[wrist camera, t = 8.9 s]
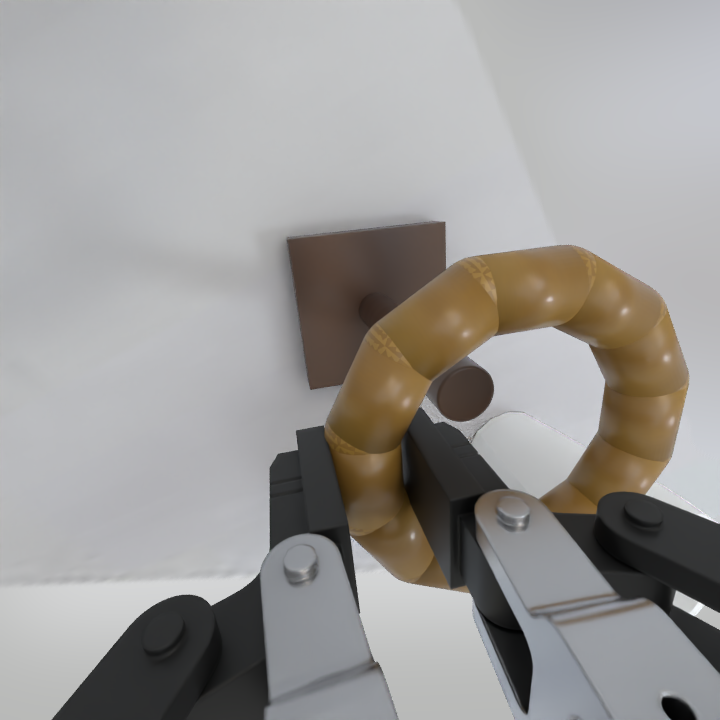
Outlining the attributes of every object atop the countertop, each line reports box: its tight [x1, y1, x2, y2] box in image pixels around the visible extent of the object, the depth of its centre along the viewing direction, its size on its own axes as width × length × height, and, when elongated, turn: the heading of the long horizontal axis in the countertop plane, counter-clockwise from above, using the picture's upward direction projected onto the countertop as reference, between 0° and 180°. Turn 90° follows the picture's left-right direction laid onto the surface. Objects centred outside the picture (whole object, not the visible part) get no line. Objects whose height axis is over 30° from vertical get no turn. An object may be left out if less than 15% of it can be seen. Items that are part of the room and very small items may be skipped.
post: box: [287, 221, 494, 422], centre depth 19 cm, size 9×9×14 cm
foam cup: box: [471, 412, 720, 616], centre depth 26 cm, size 10×9×13 cm
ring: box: [324, 245, 689, 593], centre depth 11 cm, size 10×10×2 cm
